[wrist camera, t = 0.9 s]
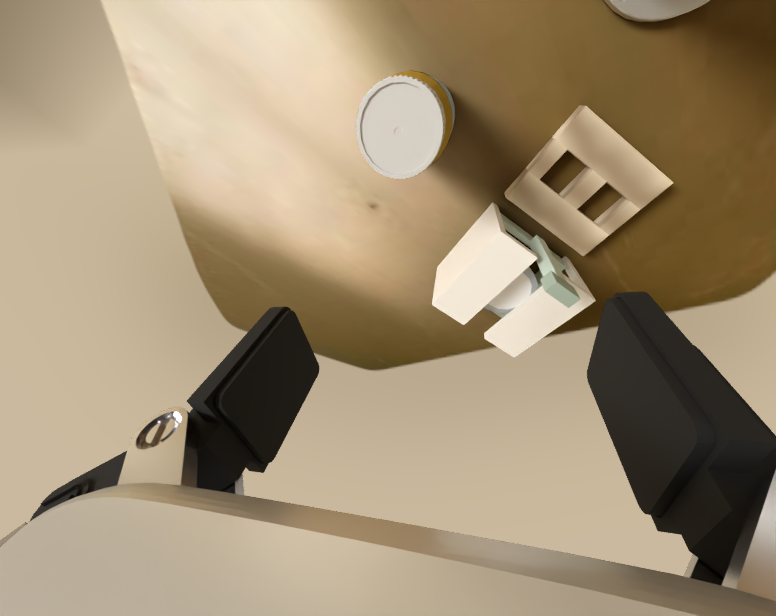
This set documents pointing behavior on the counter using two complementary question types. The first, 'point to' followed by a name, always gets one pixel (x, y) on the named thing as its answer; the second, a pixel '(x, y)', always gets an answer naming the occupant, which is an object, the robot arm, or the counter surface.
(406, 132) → the bottle
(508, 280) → the tunnel
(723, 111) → the counter surface
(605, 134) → the board
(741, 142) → the counter surface
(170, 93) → the counter surface
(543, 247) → the slider
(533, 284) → the white cup
